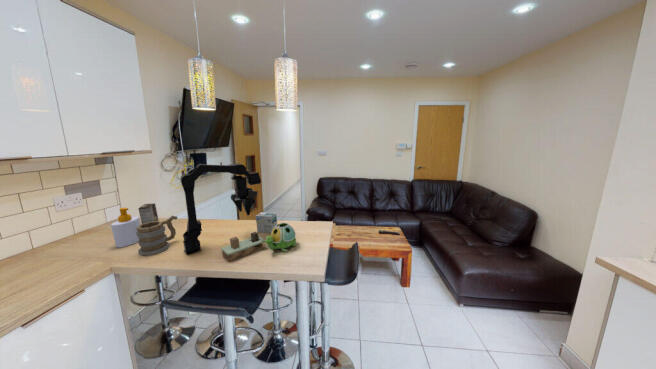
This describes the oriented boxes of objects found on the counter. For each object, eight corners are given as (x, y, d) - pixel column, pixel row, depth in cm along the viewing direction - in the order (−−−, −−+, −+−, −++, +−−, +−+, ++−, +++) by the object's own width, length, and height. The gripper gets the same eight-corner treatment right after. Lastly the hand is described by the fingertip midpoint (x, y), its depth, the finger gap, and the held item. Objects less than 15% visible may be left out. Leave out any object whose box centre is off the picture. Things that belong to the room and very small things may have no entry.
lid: (228, 255, 111) (226, 244, 110) (221, 249, 117) (219, 239, 116) (265, 241, 124) (264, 232, 123) (257, 236, 130) (256, 227, 129)
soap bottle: (122, 248, 129) (113, 212, 124) (112, 246, 131) (103, 211, 127) (147, 238, 141) (140, 205, 136) (137, 236, 144) (130, 204, 139)
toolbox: (229, 261, 112) (228, 255, 111) (222, 256, 118) (221, 249, 117) (264, 248, 124) (264, 241, 124) (257, 243, 130) (256, 237, 129)
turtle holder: (258, 252, 120) (256, 230, 118) (285, 238, 135) (283, 218, 132) (275, 259, 113) (273, 235, 111) (301, 244, 128) (300, 223, 125)
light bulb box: (278, 229, 148) (276, 212, 146) (272, 233, 142) (271, 216, 139) (262, 228, 151) (261, 211, 149) (256, 232, 145) (255, 215, 142)
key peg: (254, 249, 123) (253, 235, 122) (252, 247, 125) (250, 233, 124) (259, 247, 125) (258, 233, 123) (257, 245, 127) (255, 231, 125)
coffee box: (148, 227, 157) (143, 204, 154) (160, 226, 159) (155, 202, 156) (143, 233, 149) (137, 208, 145) (155, 231, 151) (150, 206, 147)
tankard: (146, 257, 118) (140, 229, 115) (135, 251, 125) (129, 224, 122) (187, 241, 135) (183, 216, 131) (176, 237, 141) (171, 212, 138)
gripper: (263, 186, 132) (265, 213, 135) (247, 181, 145) (249, 206, 148) (244, 190, 124) (247, 218, 127) (228, 185, 137) (232, 211, 140)
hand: (244, 213), depth 136 cm, fingers open, 9 cm apart
